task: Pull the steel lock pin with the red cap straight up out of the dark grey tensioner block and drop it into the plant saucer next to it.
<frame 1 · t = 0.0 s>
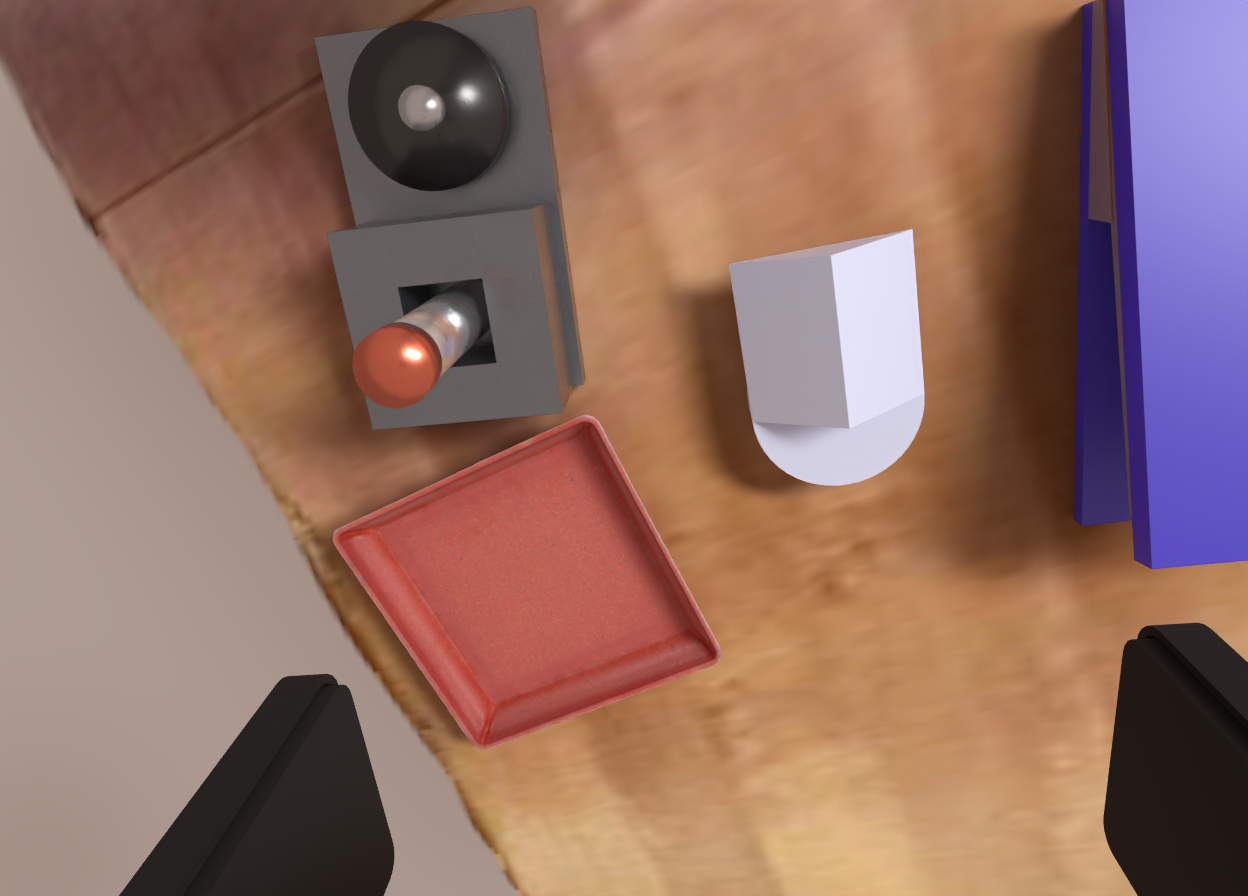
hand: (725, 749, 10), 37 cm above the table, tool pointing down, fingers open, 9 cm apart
stapler: (1174, 266, 43), on the table
tensioner block: (477, 302, 45), on the table
wedge on round base: (822, 355, 45), on the table
lock pin: (472, 306, 44), point 1 cm above the table, touching tensioner block
plant saucer: (538, 570, 52), on the table
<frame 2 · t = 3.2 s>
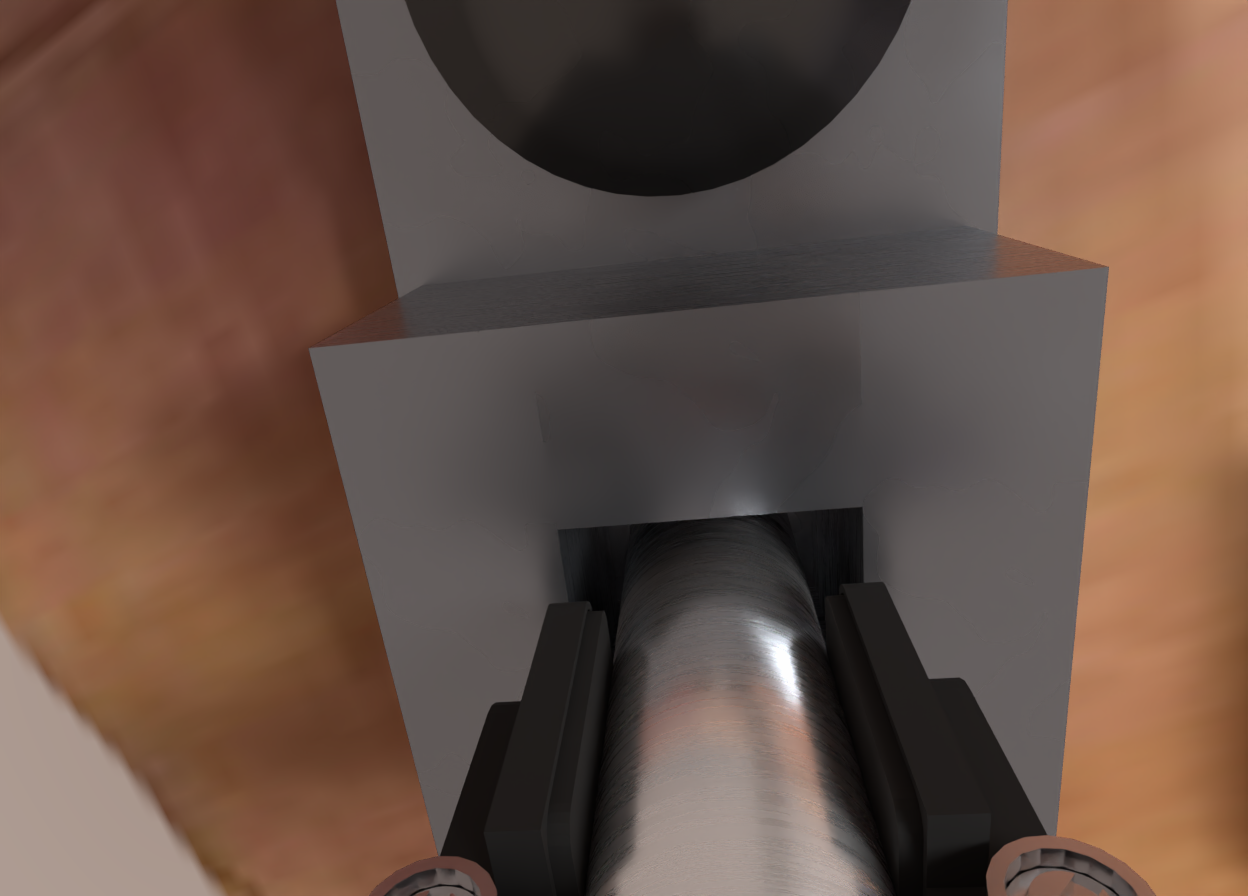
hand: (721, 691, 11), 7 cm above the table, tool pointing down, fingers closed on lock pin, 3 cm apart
tensioner block: (705, 481, 18), on the table
lock pin: (707, 504, 16), point 1 cm above the table, touching gripper, tensioner block
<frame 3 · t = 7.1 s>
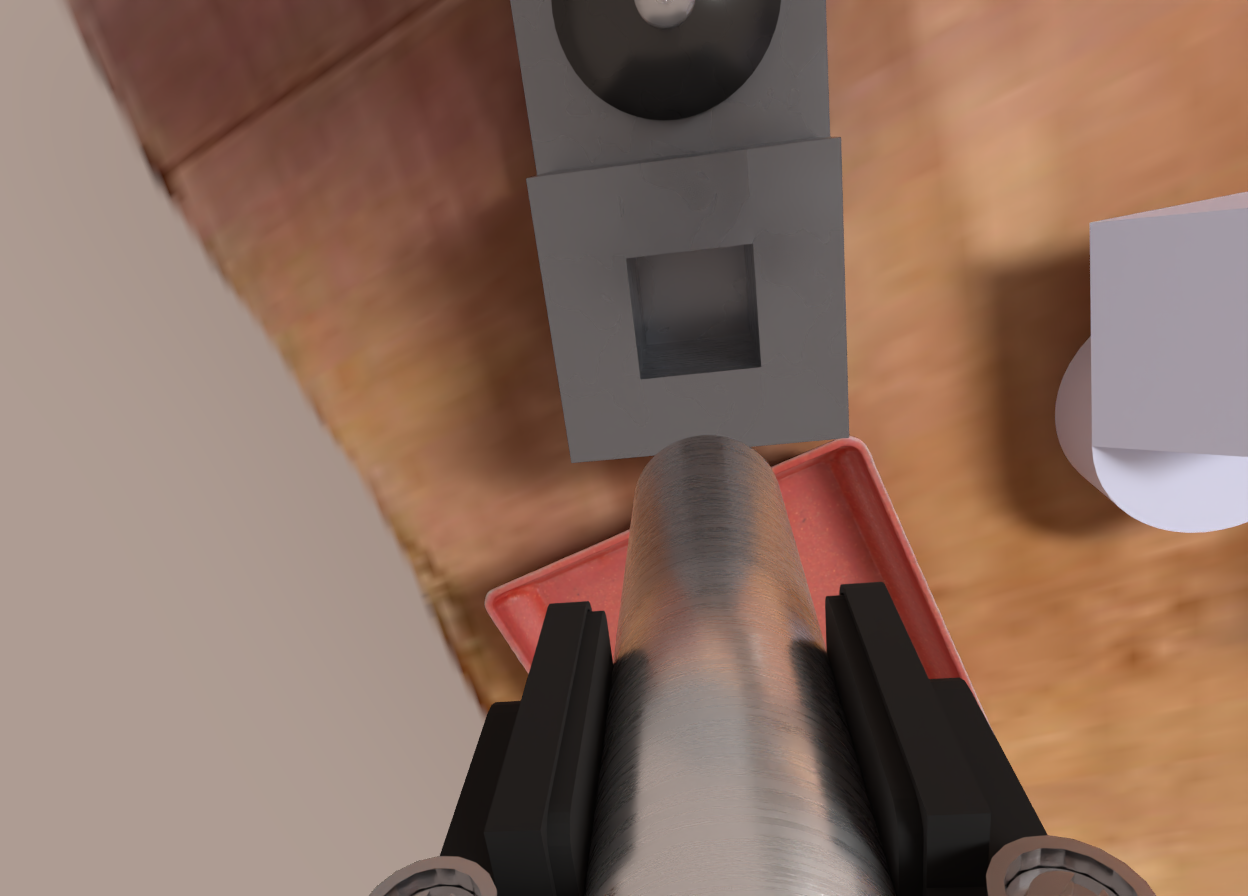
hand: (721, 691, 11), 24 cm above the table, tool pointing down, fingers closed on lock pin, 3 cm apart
tensioner block: (692, 282, 33), on the table
wedge on round base: (1166, 351, 33), on the table
lock pin: (707, 504, 16), point 18 cm above the table, touching gripper
plant saucer: (740, 635, 40), on the table
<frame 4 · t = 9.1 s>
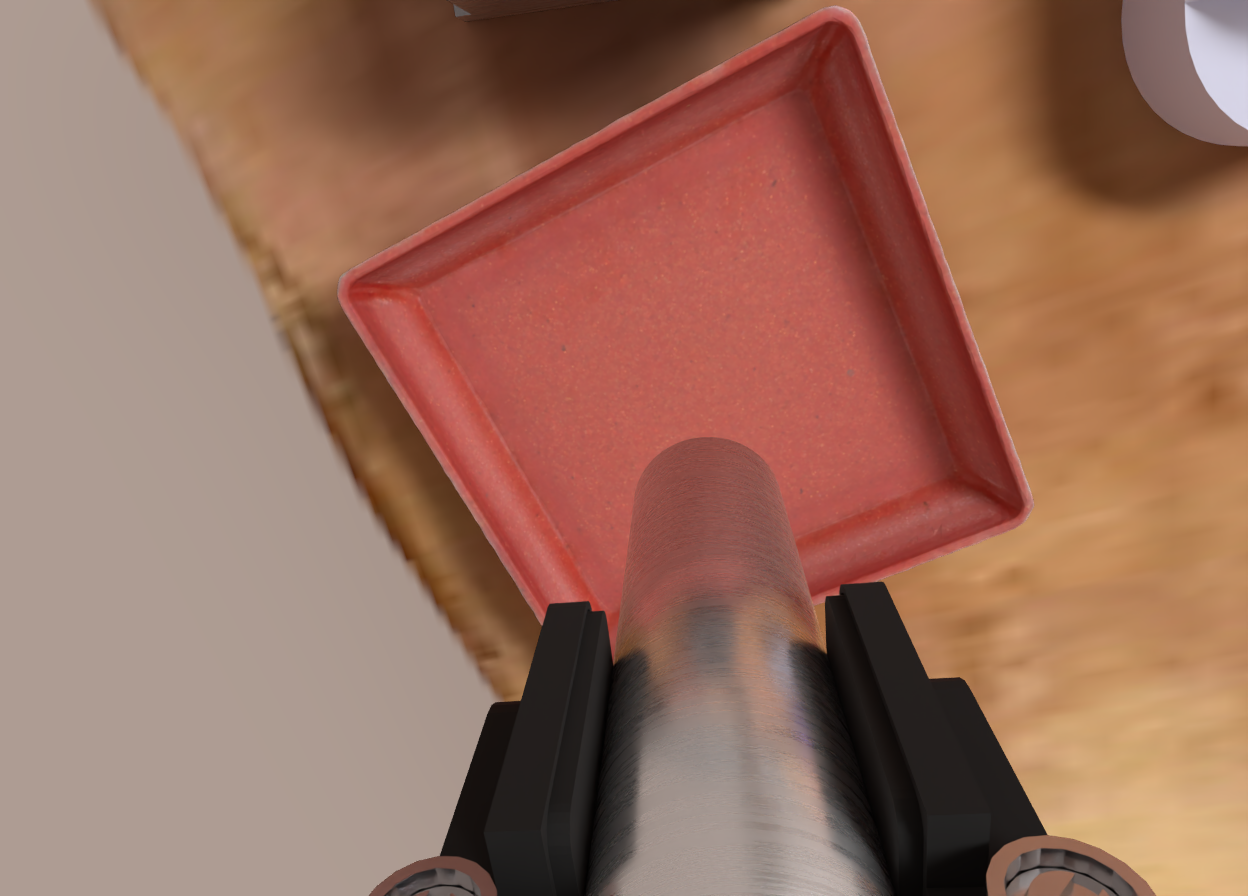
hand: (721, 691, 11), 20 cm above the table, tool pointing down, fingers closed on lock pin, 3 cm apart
lock pin: (707, 505, 16), point 14 cm above the table, touching gripper
plant saucer: (692, 376, 30), on the table
when the fingers open (10 cm above the table, at t = 11.0 s): lock pin stays where it is, resting on plant saucer.
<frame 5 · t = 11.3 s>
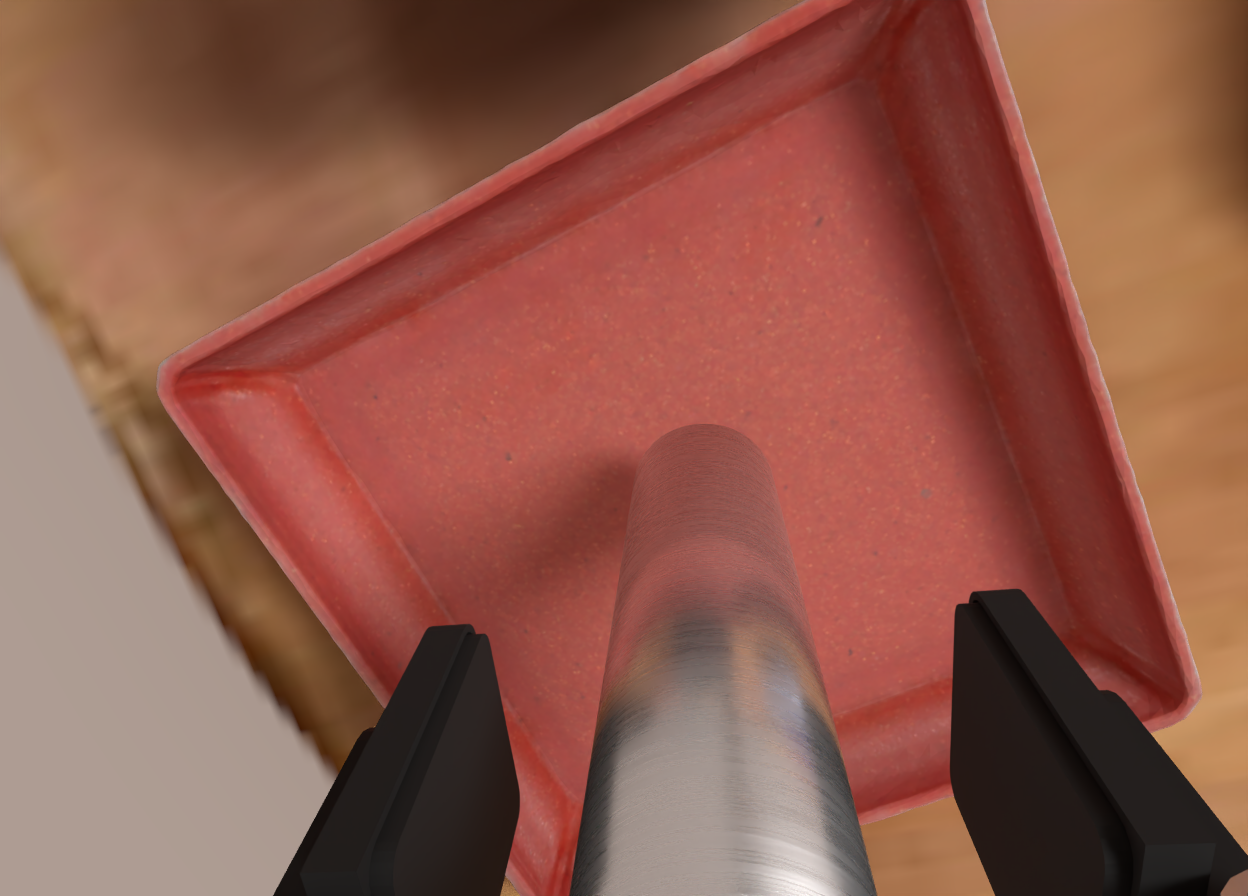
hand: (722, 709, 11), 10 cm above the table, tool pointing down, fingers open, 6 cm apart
lock pin: (703, 489, 17), point 3 cm above the table, touching plant saucer
plant saucer: (695, 490, 21), on the table, touching lock pin
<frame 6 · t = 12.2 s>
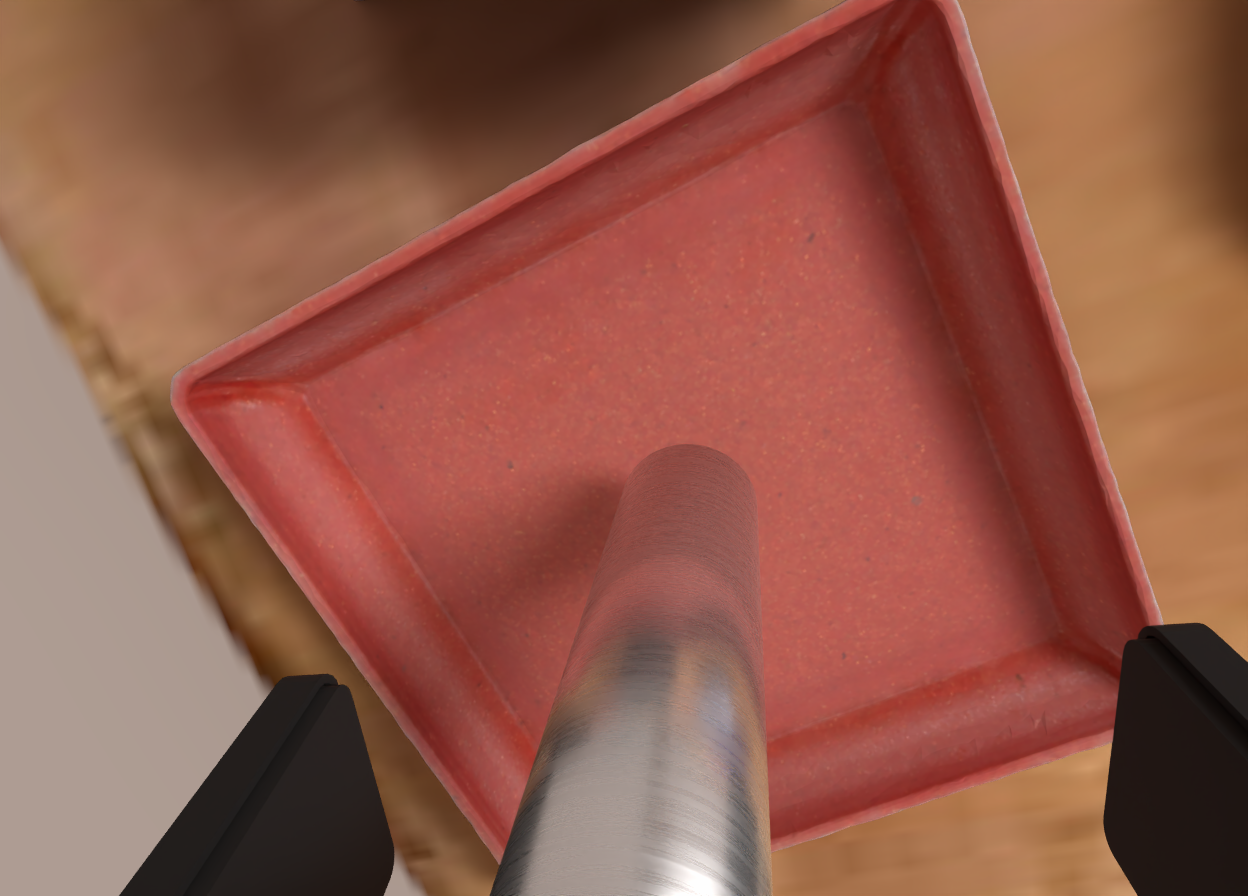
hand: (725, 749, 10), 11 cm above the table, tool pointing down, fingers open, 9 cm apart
lock pin: (688, 507, 18), point 3 cm above the table, touching plant saucer
plant saucer: (692, 497, 22), on the table, touching lock pin
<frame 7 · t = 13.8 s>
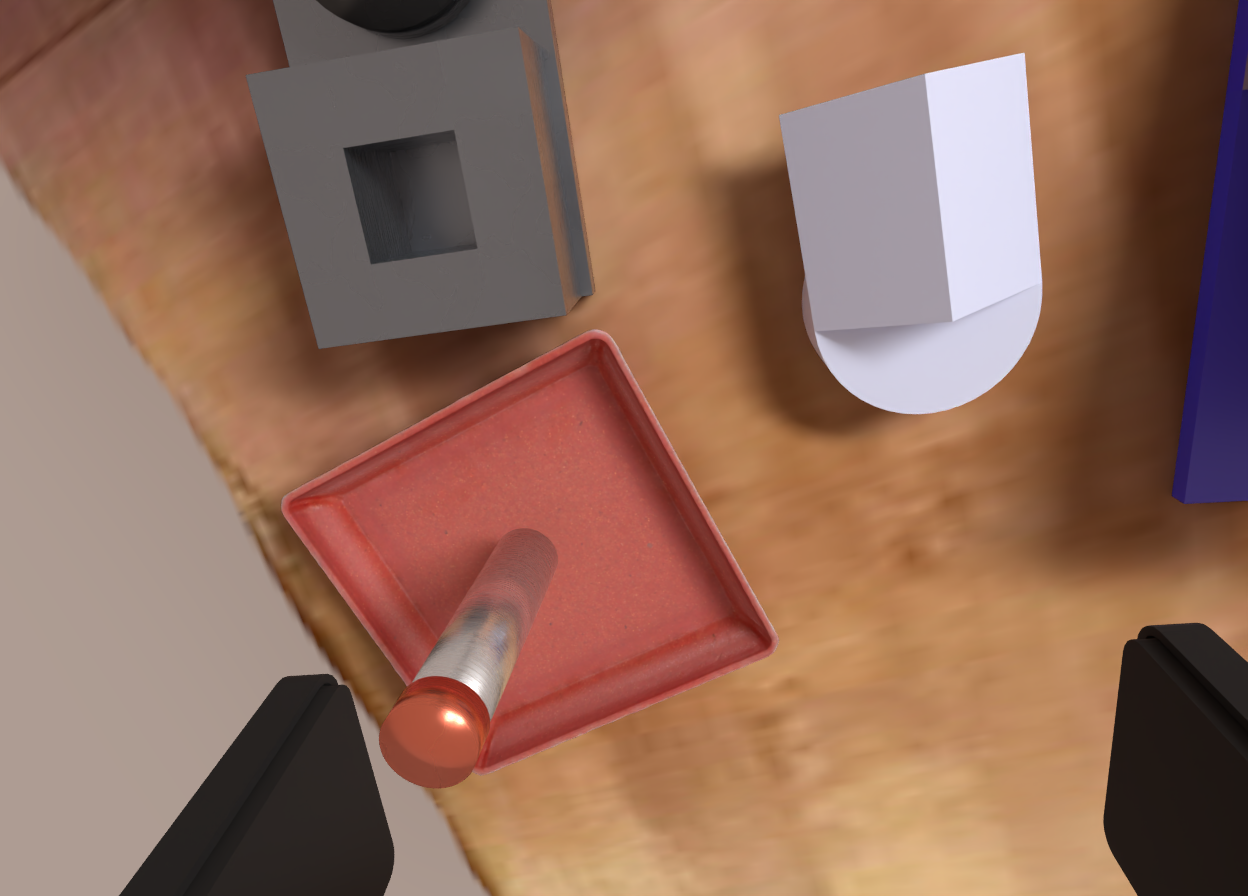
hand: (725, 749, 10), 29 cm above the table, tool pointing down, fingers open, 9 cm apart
tensioner block: (455, 195, 36), on the table
wedge on round base: (897, 250, 35), on the table
lock pin: (526, 557, 38), point 3 cm above the table, touching plant saucer
plant saucer: (543, 545, 42), on the table, touching lock pin
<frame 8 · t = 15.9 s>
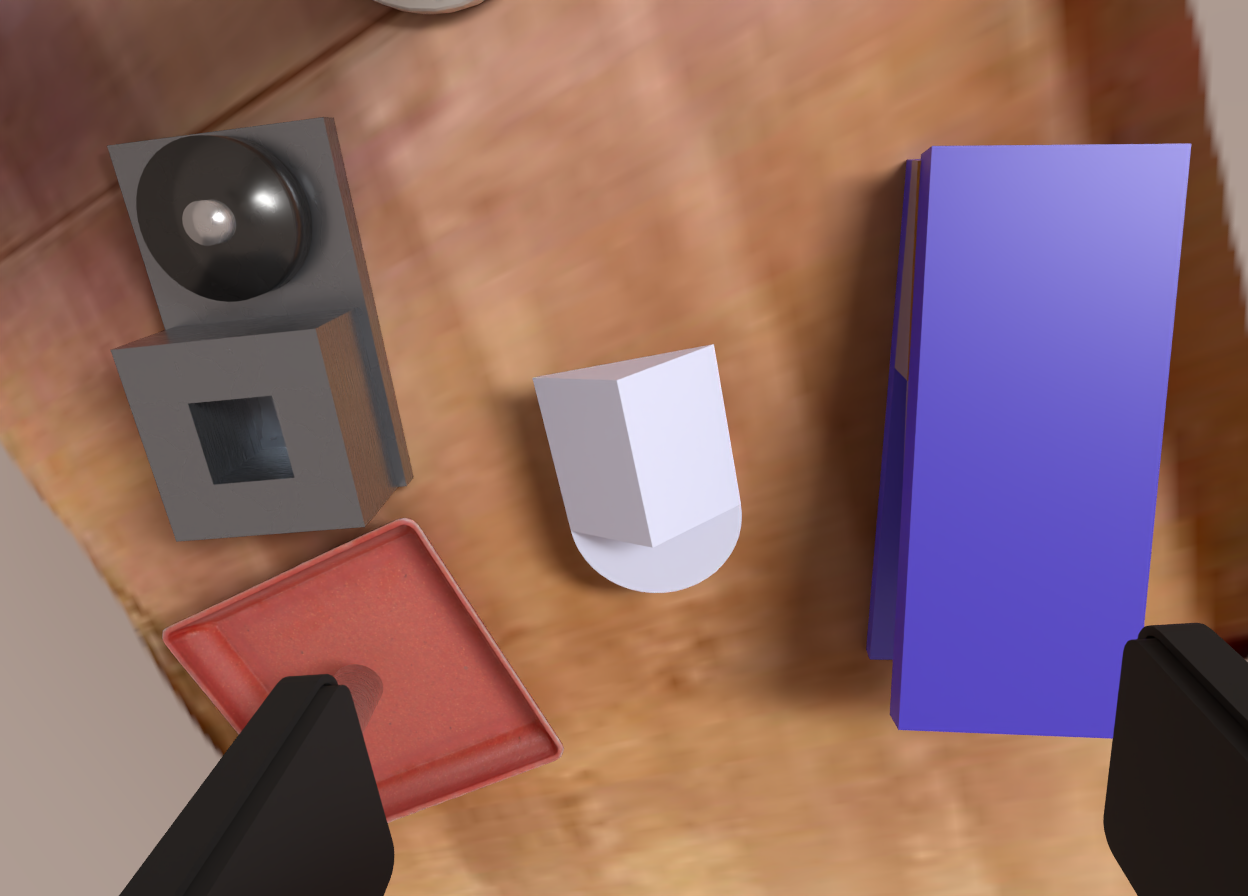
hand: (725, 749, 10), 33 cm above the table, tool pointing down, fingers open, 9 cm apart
stapler: (980, 422, 43), on the table
tensioner block: (298, 402, 45), on the table
wedge on round base: (649, 457, 45), on the table
lock pin: (357, 686, 48), point 3 cm above the table, touching plant saucer
plant saucer: (384, 661, 51), on the table, touching lock pin
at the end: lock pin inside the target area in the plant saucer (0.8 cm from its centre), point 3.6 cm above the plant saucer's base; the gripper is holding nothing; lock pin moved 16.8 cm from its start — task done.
